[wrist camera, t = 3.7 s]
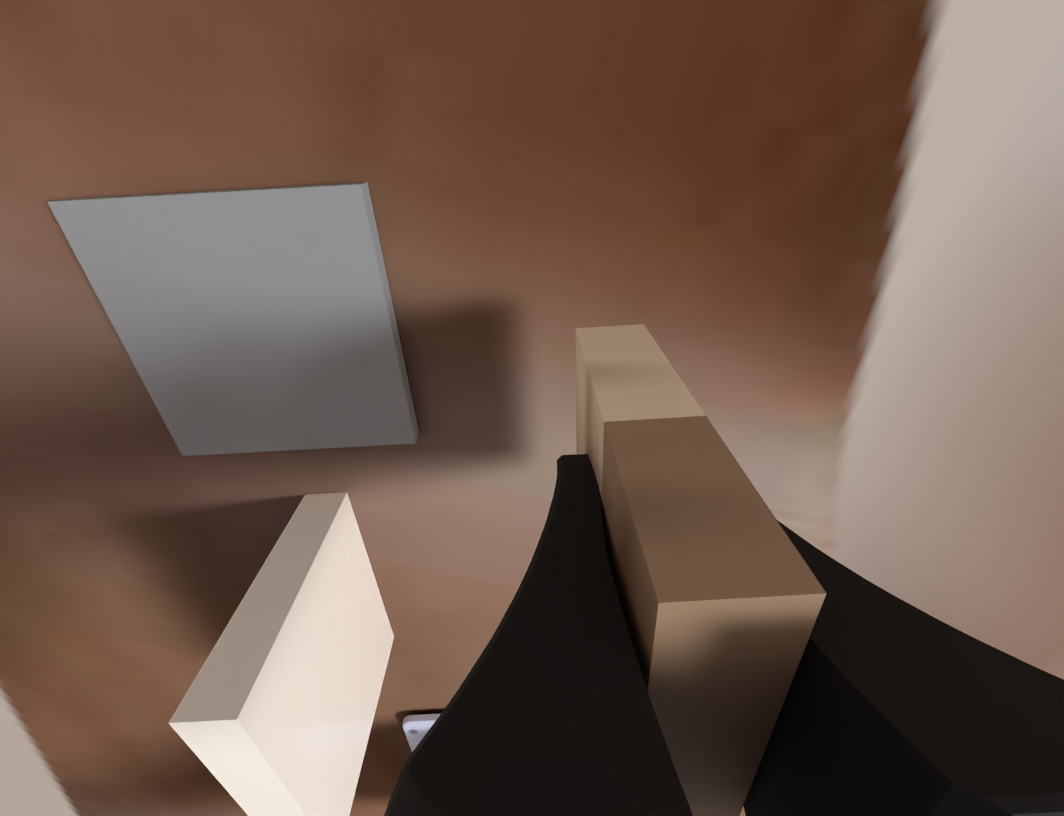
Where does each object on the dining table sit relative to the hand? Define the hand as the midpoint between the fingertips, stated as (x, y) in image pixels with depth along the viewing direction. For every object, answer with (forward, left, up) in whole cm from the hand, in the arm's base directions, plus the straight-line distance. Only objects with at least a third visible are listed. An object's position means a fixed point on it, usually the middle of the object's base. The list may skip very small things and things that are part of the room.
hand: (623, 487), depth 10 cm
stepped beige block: (0, 0, -2) cm, 2 cm away
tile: (-9, +10, -6) cm, 15 cm away
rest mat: (+2, +10, -6) cm, 12 cm away
